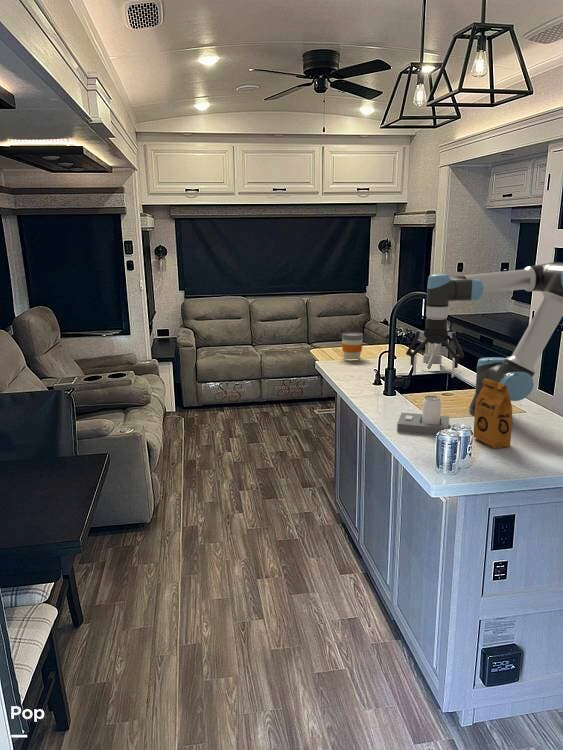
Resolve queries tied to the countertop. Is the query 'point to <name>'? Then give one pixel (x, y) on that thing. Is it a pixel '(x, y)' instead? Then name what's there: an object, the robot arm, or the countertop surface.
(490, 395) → the coffee package
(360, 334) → the reusable coffee cup
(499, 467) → the countertop surface
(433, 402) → the can
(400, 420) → the socket plate
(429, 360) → the phone holder
